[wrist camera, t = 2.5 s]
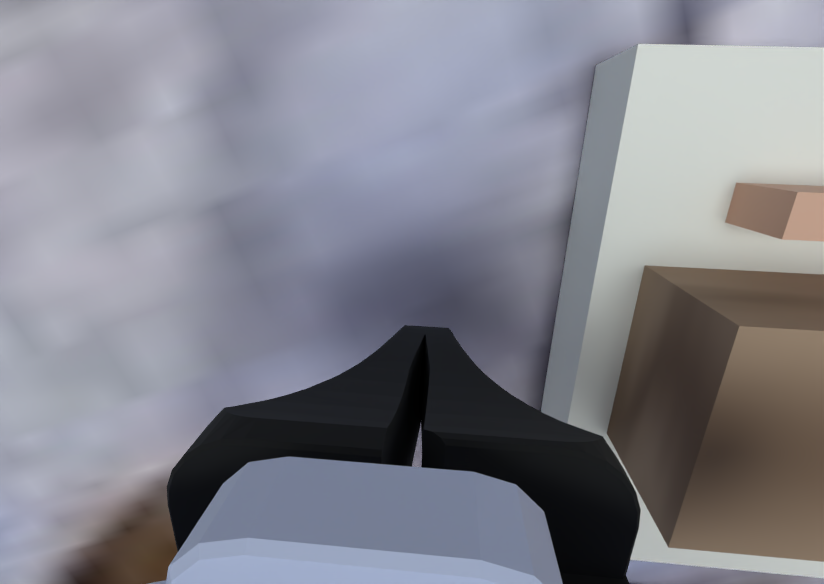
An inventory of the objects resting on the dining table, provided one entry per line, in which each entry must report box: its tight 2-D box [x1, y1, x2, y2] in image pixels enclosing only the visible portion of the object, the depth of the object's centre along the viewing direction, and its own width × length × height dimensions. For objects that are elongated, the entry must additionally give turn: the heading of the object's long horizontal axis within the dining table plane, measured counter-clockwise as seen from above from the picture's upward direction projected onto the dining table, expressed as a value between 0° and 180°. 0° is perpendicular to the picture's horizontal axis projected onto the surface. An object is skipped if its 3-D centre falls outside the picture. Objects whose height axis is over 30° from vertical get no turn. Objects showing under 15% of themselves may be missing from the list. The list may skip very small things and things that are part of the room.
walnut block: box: [607, 265, 824, 562], centre depth 10 cm, size 6×6×4 cm
